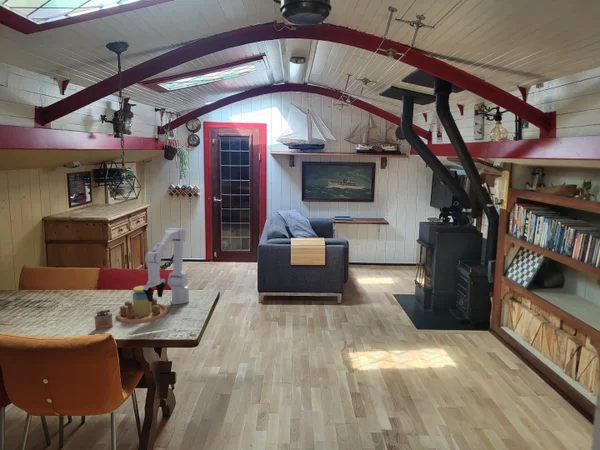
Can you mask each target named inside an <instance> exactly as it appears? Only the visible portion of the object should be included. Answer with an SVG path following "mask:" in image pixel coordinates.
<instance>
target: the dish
mask: <svg viewBox="0 0 600 450" xmlns="http://www.w3.org/2000/svg"><path fill="white" fill-rule="evenodd" d="M157 305H159V306H160V314H159V315H156V316H152V313H151V314H150V315H146V316H135V319H127V318H126V317H121V316H120V309H119V310H118V311H117V312H116V316H117V317H116V319H117V320H119V321H121V322H125V323H130V324H131V323H134V324H135V323H145V322H146V323H147V322H151V321H155V320H159V319H160V318H162V317H163V316H165V315H166V314H167V313H168V308H167V305H164V304H163V303H158V302H157ZM133 309H134V307H133Z"/></svg>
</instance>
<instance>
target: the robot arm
mask: <svg viewBox="0 0 600 450" xmlns="http://www.w3.org/2000/svg"><path fill="white" fill-rule="evenodd" d="M170 242H172V243H173V260H172V261H173V262H172V263H173V264H172V271H171V272H170V273H169V274H168V279H167V283H166V279H165V278H161V275H160V274H161V273H160V272H161V271H160V262H161V261H162V257H163V254H164V253H165V252H166V251H167V246H168V245H169V244H170ZM185 242H186V230H185V229H184V227H180V228H179V227H166V228H165V230H164V236H163V237H162V239H161V241H160V242H156V244H155V245H154V246H153V248H152V249H151V251H147V252H146V253H145V257H144V262H145V264H146V267H147V274H148V275H147V277H148V281H147V282H146V284H145V285H143V286H144V289H143V291H144V292H145V294H146V296H147V298H148V301H149V302H153V298H154V297H153V296H154V292H155V289H154V288H153V287H155V288H156V291H157V293H156V295H157V297H158V298H162V297H163V293H164V290H165V288H166V286H167V285H168V286H169V288H170V289H171V299H170V302H171V304H172V306H174V305H181V304H188V303H190V296H189V295H190V294H189V293H190V292H189V286H187V284H188V278H187V273H186V272H185V271H183V259H184V258H183V257H184V256H183V255H184V254H183V253H184V243H185ZM152 288H153V289H152Z"/></svg>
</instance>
